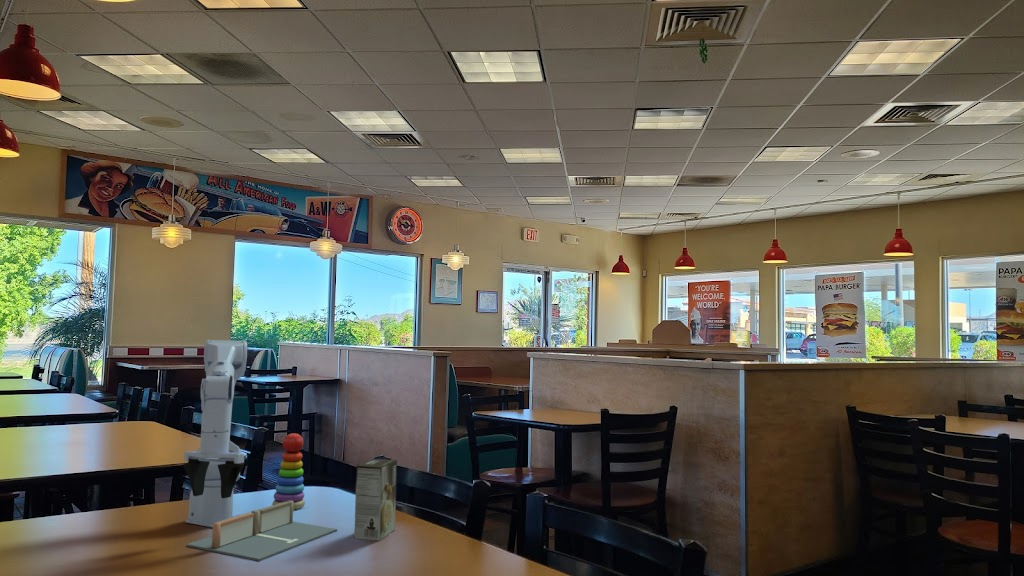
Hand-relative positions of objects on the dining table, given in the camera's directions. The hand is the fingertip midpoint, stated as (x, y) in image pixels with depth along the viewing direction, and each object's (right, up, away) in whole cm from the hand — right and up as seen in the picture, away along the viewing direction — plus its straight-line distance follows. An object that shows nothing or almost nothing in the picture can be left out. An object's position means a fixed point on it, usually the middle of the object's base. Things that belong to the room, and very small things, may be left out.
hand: (211, 496), depth 151 cm
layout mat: (+10, -10, +3) cm, 15 cm away
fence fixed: (+10, -10, +9) cm, 17 cm away
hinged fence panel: (+5, -9, -1) cm, 10 cm away
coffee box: (+33, -11, +8) cm, 36 cm away
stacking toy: (+7, -12, +30) cm, 33 cm away
